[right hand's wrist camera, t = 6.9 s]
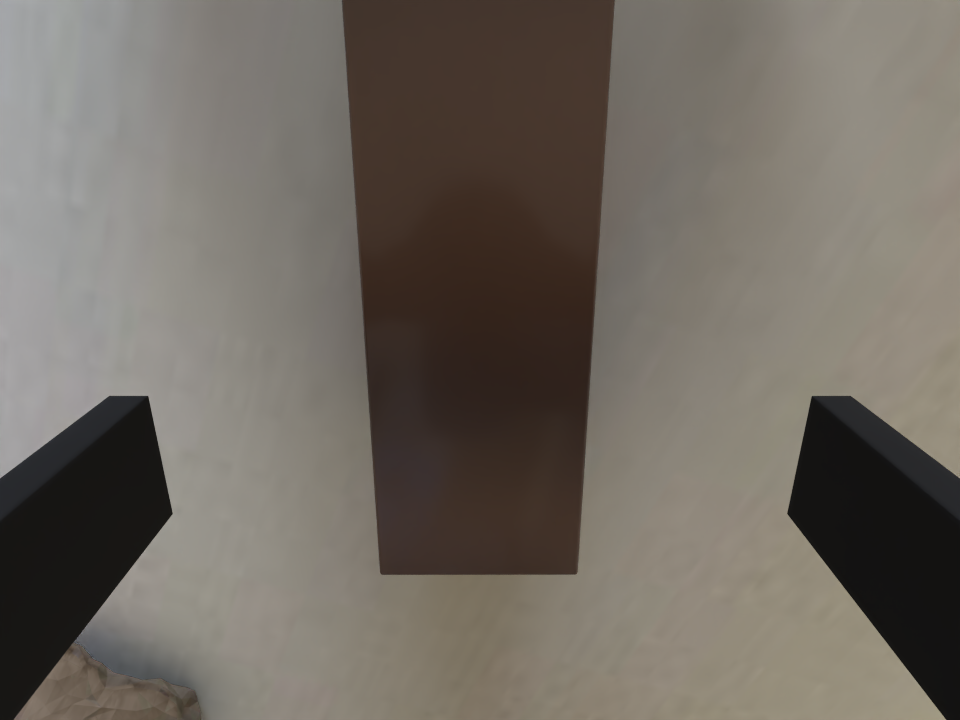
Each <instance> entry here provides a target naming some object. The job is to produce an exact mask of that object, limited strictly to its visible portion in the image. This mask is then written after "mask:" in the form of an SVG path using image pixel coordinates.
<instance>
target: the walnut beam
mask: <svg viewBox="0 0 960 720" xmlns="http://www.w3.org/2000/svg"><path fill="white" fill-rule="evenodd" d="M614 4H615V0H342V7H343V22H344V37H345V52H346V67H347V82H348V97H349V112H350V127H351V143H352V158H353V173H354V188H355V203H356V218H357V233H358V248H359V263H360V278H361V293H362V308H363V323H364V338H365V353H366V368H367V383H368V398H369V413H370V428H371V443H372V458H373V473H374V488H375V504H376V519H377V534H378V549H379V564H380V573H381V574H382V575H514V574H577V572H578V558H579V543H580V527H581V512H582V496H583V481H584V466H585V450H586V435H587V419H588V404H589V389H590V373H591V358H592V342H593V327H594V312H595V296H596V281H597V266H598V250H599V235H600V219H601V204H602V189H603V173H604V158H605V142H606V127H607V112H608V96H609V81H610V65H611V50H612V35H613V19H614Z"/></svg>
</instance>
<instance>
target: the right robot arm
mask: <svg viewBox="0 0 960 720" xmlns="http://www.w3.org/2000/svg"><path fill="white" fill-rule="evenodd" d="M172 514H173V513H172V508H171V504H170V499H169V494H168V489H167V484H166V480H165V475H164V470H163V465H162V460H161V456H160V451H159V446H158V441H157V436H156V432H155V427H154V422H153V417H152V412H151V408H150V403H149V398H148V396H109V397H108V398H106V399H105V400H104V401H102V402H101V403H100V404H98V405H97V406H96V407H94V408H93V409H92V410H90V411H89V412H88V413H86V414H85V415H84V416H82V417H81V418H80V419H78V420H77V421H76V422H74V423H73V424H72V425H70V426H69V427H68V428H67V429H65V430H64V431H63V432H61V433H60V434H59V435H57V436H56V437H55V438H53V439H52V440H51V441H49V442H48V443H47V444H45V445H44V446H43V447H41V448H40V449H39V450H37V451H36V452H35V453H33V454H32V455H31V456H29V457H28V458H27V459H26V460H24V461H23V462H22V463H20V464H19V465H18V466H16V467H15V468H14V469H12V470H11V471H10V472H8V473H7V474H6V475H4V476H3V477H2V478H0V720H14V719H15V717H16V716H17V715H18V713H19V712H20V711H21V710H22V708H23V707H24V706H25V704H26V703H27V702H28V700H29V699H30V698H31V697H32V695H33V694H34V693H35V691H36V690H37V689H38V688H39V686H40V685H41V684H42V682H43V681H44V680H45V678H46V677H47V676H48V675H49V673H50V672H51V671H52V669H53V668H54V667H55V666H56V664H57V663H58V662H59V660H60V659H61V658H62V656H63V655H64V654H65V653H66V651H67V650H68V649H69V647H70V646H71V645H72V643H73V642H74V641H75V640H76V638H77V637H78V636H79V634H80V633H81V632H82V631H83V629H84V628H85V627H86V625H87V624H88V623H89V621H90V620H91V619H92V618H93V616H94V615H95V614H96V612H97V611H98V610H99V609H100V607H101V606H102V605H103V603H104V602H105V601H106V599H107V598H108V597H109V596H110V594H111V593H112V592H113V590H114V589H115V588H116V587H117V585H118V584H119V583H120V581H121V580H122V579H123V577H124V576H125V575H126V574H127V572H128V571H129V570H130V568H131V567H132V566H133V565H134V563H135V562H136V561H137V559H138V558H139V557H140V555H141V554H142V553H143V552H144V550H145V549H146V548H147V546H148V545H149V544H150V543H151V541H152V540H153V539H154V537H155V536H156V535H157V533H158V532H159V531H160V530H161V528H162V527H163V526H164V524H165V523H166V522H167V520H168V519H169V518H170V517H171V515H172ZM787 514H788V515H789V517H790V518H791V519H792V520H793V522H794V523H795V524H796V526H797V527H798V528H799V530H800V531H801V532H802V533H803V535H804V536H805V537H806V539H807V540H808V541H809V543H810V544H811V545H812V546H813V548H814V549H815V550H816V552H817V553H818V554H819V555H820V557H821V558H822V559H823V561H824V562H825V563H826V565H827V566H828V567H829V568H830V570H831V571H832V572H833V574H834V575H835V576H836V577H837V579H838V580H839V581H840V583H841V584H842V585H843V587H844V588H845V589H846V590H847V592H848V593H849V594H850V596H851V597H852V598H853V599H854V601H855V602H856V603H857V605H858V606H859V607H860V609H861V610H862V611H863V612H864V614H865V615H866V616H867V618H868V619H869V620H870V621H871V623H872V624H873V625H874V627H875V628H876V629H877V631H878V632H879V633H880V634H881V636H882V637H883V638H884V640H885V641H886V642H887V644H888V645H889V646H890V647H891V649H892V650H893V651H894V653H895V654H896V655H897V656H898V658H899V659H900V660H901V662H902V663H903V664H904V666H905V667H906V668H907V669H908V671H909V672H910V673H911V675H912V676H913V677H914V678H915V680H916V681H917V682H918V684H919V685H920V686H921V688H922V689H923V690H924V691H925V693H926V694H927V695H928V697H929V698H930V699H931V700H932V702H933V703H934V704H935V706H936V707H937V708H938V710H939V711H940V712H941V713H942V715H943V716H944V717H945V719H946V720H960V478H958V477H957V476H956V475H954V474H953V473H952V472H950V471H949V470H948V469H946V468H945V467H944V466H942V465H941V464H940V463H938V462H937V461H936V460H934V459H933V458H932V457H931V456H929V455H928V454H927V453H925V452H924V451H923V450H921V449H920V448H919V447H917V446H916V445H915V444H913V443H912V442H911V441H909V440H908V439H907V438H905V437H904V436H903V435H901V434H900V433H899V432H897V431H896V430H895V429H893V428H892V427H891V426H890V425H888V424H887V423H886V422H884V421H883V420H882V419H880V418H879V417H878V416H876V415H875V414H874V413H872V412H871V411H870V410H868V409H867V408H866V407H864V406H863V405H862V404H860V403H859V402H858V401H856V400H855V399H854V398H852V397H851V396H812V398H811V403H810V408H809V412H808V417H807V422H806V427H805V432H804V436H803V441H802V446H801V451H800V456H799V460H798V465H797V470H796V475H795V480H794V484H793V489H792V494H791V499H790V504H789V508H788V513H787Z"/></svg>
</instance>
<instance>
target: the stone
mask: <svg viewBox="0 0 960 720" xmlns="http://www.w3.org/2000/svg"><path fill="white" fill-rule="evenodd" d="M14 720H201V711H200V707H199V704H198V700H197V695H196V693H195V691H194V690H192V689H189V688H187V687H182V686H177V685H172V684H170V683H168V682H166V681H164V680H163V679H161V678H157V679H147V680H141V679H137V678H134V677H131V676H126V675H122V674H117V673H114V672H112V671H111V670H110V669H108V668H107V667H106V666H104V665H103V664H102V663H101V662H98V661H96V660H93V659H92V657H91V656H90V655H89V654H88V653H87V652H86V650H85V649H84V648H83V647H82V646H80V645H78V644H75V643H72V645H71V646H70V647H69V649H68V650H67V651H66V653H65V654H64V655H63V656H62V658H61V659H60V660H59V662H58V663H57V664H56V666H55V667H54V668H53V669H52V671H51V672H50V673H49V675H48V676H47V677H46V678H45V680H44V681H43V682H42V684H41V685H40V686H39V688H38V689H37V690H36V691H35V693H34V694H33V695H32V697H31V698H30V699H29V700H28V702H27V703H26V704H25V706H24V707H23V708H22V710H21V711H20V712H19V713H18V715H17V716H16V717H15V719H14Z"/></svg>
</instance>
